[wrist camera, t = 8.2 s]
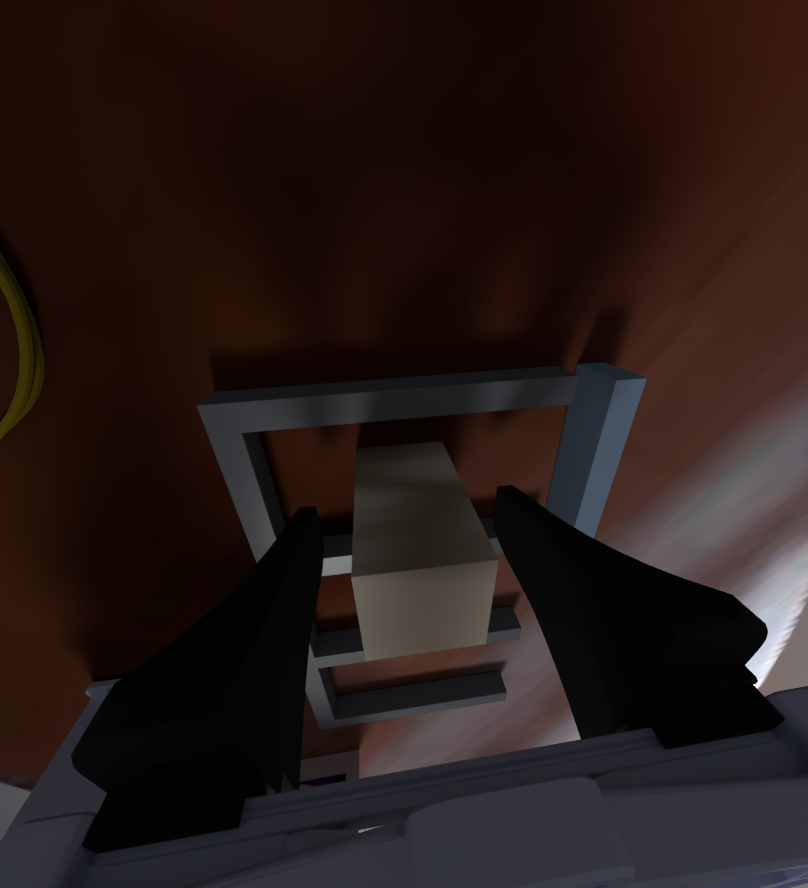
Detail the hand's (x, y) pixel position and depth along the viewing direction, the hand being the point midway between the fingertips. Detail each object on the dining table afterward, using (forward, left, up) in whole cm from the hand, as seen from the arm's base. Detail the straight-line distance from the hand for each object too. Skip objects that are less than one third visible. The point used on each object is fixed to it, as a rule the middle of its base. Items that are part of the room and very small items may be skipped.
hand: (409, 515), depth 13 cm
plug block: (0, 0, -3) cm, 3 cm away
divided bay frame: (+1, -8, -3) cm, 9 cm away
